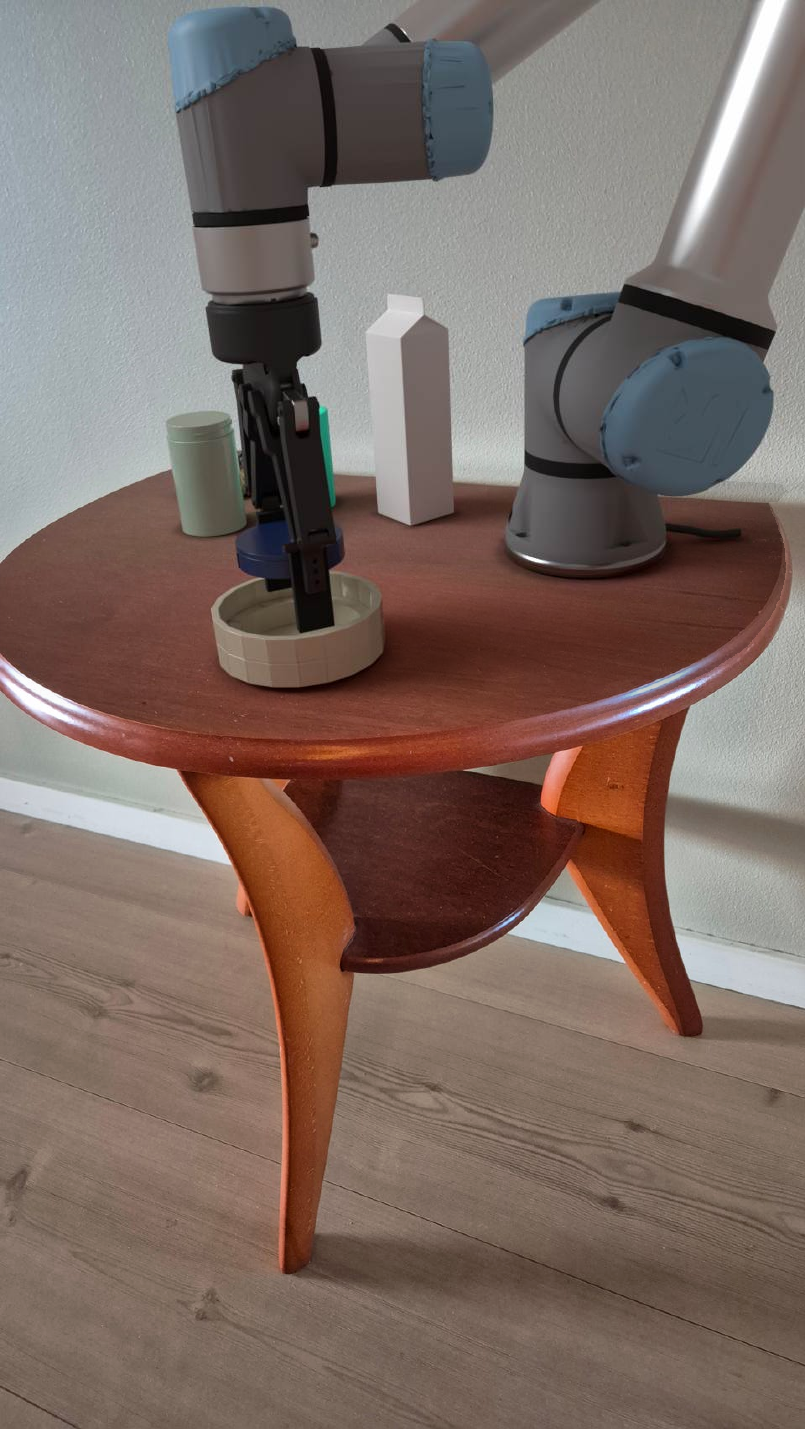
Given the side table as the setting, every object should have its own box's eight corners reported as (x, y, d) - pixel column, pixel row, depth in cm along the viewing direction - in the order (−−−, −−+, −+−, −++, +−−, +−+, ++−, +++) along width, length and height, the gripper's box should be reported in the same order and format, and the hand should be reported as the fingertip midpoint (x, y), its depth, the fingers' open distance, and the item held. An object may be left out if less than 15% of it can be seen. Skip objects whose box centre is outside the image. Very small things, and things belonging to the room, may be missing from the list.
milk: (410, 527, 104) (397, 302, 93) (377, 513, 108) (361, 297, 97) (455, 513, 107) (448, 293, 96) (421, 500, 111) (410, 289, 100)
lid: (252, 587, 71) (249, 564, 70) (226, 552, 77) (222, 530, 76) (360, 565, 73) (358, 542, 72) (325, 533, 80) (323, 511, 79)
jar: (258, 517, 109) (244, 412, 103) (225, 539, 104) (208, 428, 98) (204, 512, 112) (188, 409, 106) (169, 533, 106) (149, 425, 100)
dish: (410, 629, 82) (407, 578, 80) (340, 704, 72) (335, 649, 69) (271, 611, 87) (265, 563, 85) (187, 679, 76) (177, 626, 74)
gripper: (368, 304, 58) (392, 648, 70) (272, 274, 75) (304, 555, 87) (244, 319, 56) (291, 672, 68) (174, 285, 73) (221, 572, 85)
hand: (298, 606), depth 77 cm, fingers closed on lid, 8 cm apart
